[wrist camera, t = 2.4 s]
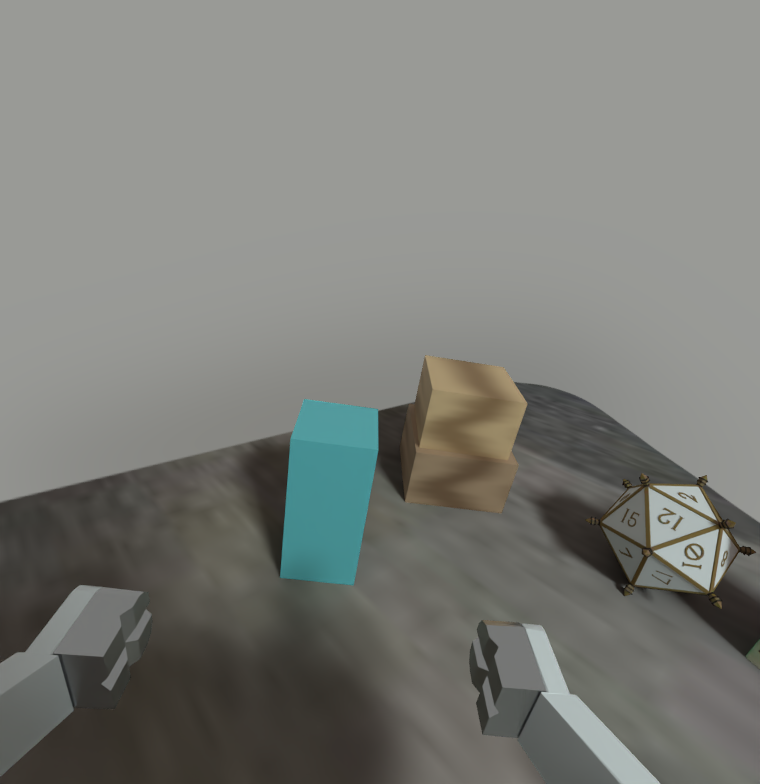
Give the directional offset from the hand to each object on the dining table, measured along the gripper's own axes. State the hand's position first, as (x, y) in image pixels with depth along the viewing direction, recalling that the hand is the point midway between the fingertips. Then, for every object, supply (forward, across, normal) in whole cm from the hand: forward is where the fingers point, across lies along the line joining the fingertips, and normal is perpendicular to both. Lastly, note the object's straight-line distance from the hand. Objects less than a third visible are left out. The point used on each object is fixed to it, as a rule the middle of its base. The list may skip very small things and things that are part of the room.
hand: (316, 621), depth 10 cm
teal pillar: (+14, +1, +12) cm, 18 cm away
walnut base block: (+24, -9, +12) cm, 28 cm away
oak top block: (+24, -9, +7) cm, 27 cm away
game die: (+15, -22, +13) cm, 30 cm away
